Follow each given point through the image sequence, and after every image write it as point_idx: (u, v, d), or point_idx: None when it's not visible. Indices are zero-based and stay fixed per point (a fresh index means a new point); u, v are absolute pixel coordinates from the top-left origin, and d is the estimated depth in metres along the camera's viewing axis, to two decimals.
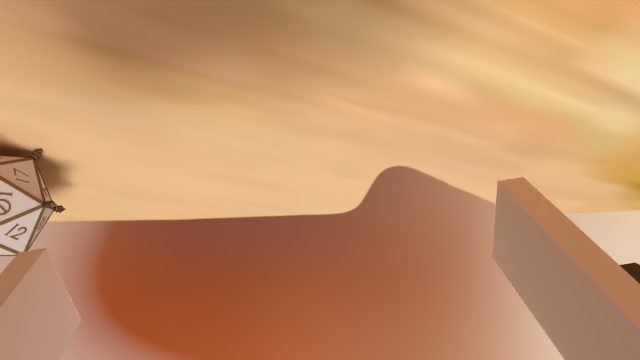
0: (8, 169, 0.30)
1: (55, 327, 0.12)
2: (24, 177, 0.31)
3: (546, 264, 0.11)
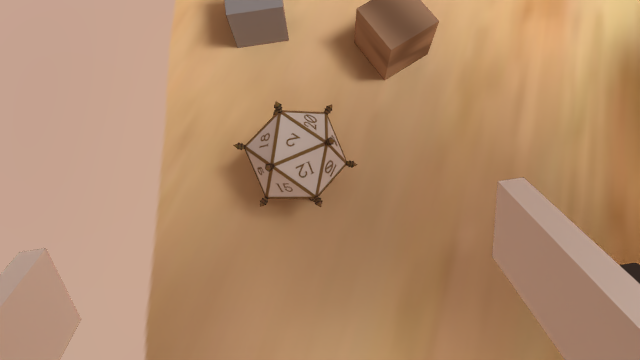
0: None
1: (55, 327, 0.12)
2: None
3: (546, 264, 0.11)
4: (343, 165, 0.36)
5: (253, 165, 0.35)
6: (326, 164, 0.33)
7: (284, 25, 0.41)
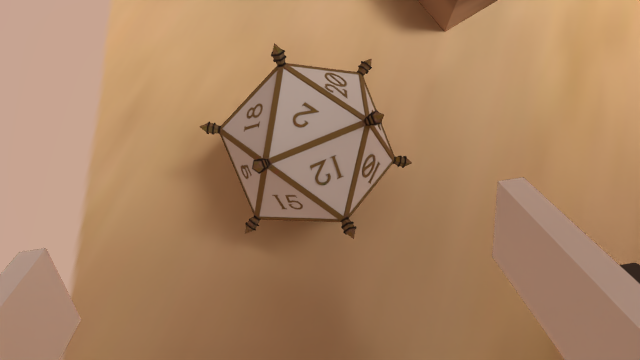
0: None
1: (55, 327, 0.12)
2: None
3: (546, 264, 0.11)
4: (389, 163, 0.21)
5: (234, 162, 0.20)
6: (365, 161, 0.18)
7: None
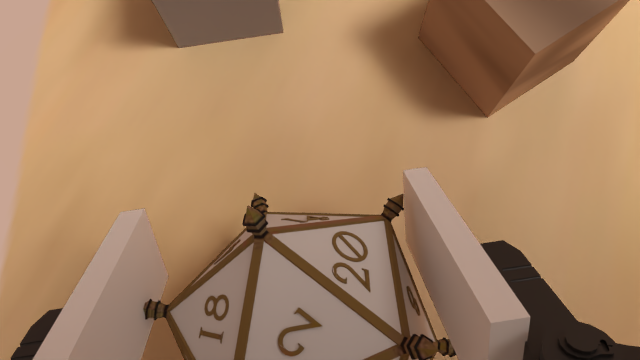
0: None
1: (153, 279, 0.14)
2: None
3: (430, 242, 0.12)
4: None
5: None
6: None
7: None
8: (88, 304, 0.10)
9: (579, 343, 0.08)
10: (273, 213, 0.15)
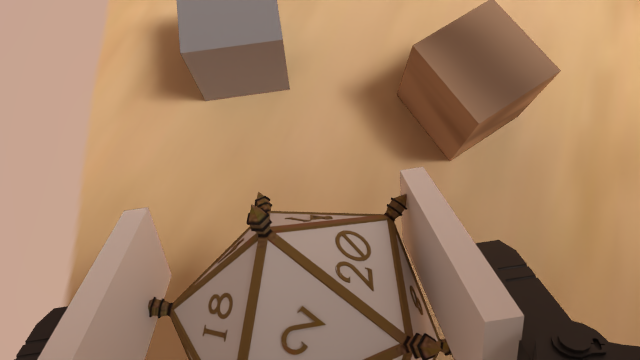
0: None
1: (157, 278, 0.14)
2: None
3: (426, 242, 0.12)
4: (434, 356, 0.14)
5: None
6: None
7: (283, 68, 0.24)
8: (93, 302, 0.10)
9: (572, 342, 0.08)
10: (277, 212, 0.15)
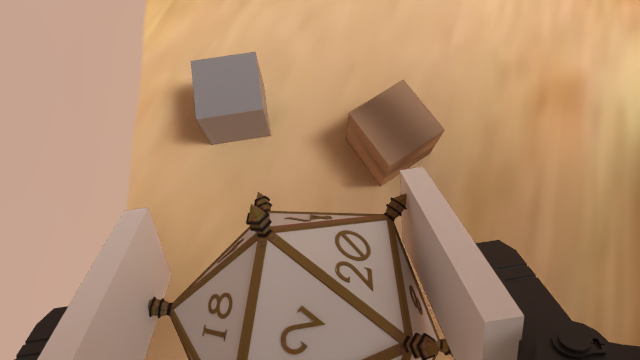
0: None
1: (157, 278, 0.14)
2: None
3: (426, 242, 0.12)
4: None
5: None
6: None
7: (265, 124, 0.36)
8: (93, 302, 0.10)
9: (572, 342, 0.08)
10: (276, 212, 0.15)
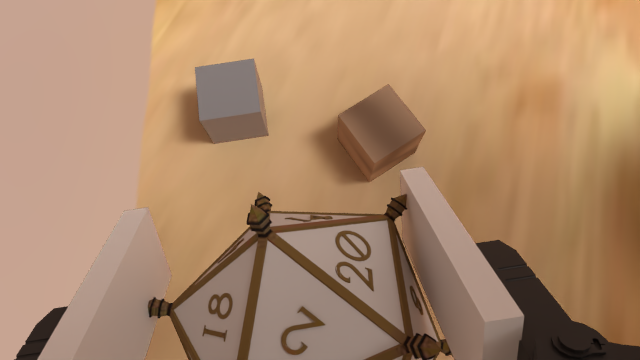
0: None
1: (157, 278, 0.14)
2: None
3: (426, 242, 0.12)
4: None
5: None
6: None
7: (263, 125, 0.39)
8: (93, 302, 0.10)
9: (572, 342, 0.08)
10: (277, 212, 0.15)
